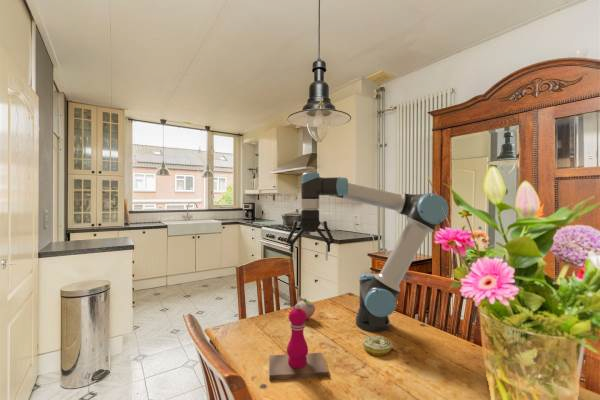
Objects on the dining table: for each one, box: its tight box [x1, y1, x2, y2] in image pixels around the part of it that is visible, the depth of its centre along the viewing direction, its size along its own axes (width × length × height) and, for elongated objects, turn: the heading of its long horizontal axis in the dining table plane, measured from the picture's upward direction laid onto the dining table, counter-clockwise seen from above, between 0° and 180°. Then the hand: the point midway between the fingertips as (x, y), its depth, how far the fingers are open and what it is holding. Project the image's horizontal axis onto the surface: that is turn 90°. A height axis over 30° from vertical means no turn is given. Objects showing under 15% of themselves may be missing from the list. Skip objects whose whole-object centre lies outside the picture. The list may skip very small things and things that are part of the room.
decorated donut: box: [362, 335, 393, 357], centre depth 112 cm, size 10×11×4 cm
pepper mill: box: [286, 303, 309, 368], centre depth 99 cm, size 7×7×20 cm
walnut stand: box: [268, 352, 330, 381], centre depth 99 cm, size 19×12×2 cm, turn 96°
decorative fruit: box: [297, 297, 316, 320], centre depth 140 cm, size 9×8×10 cm
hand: (310, 260), depth 123 cm, fingers open, 13 cm apart
